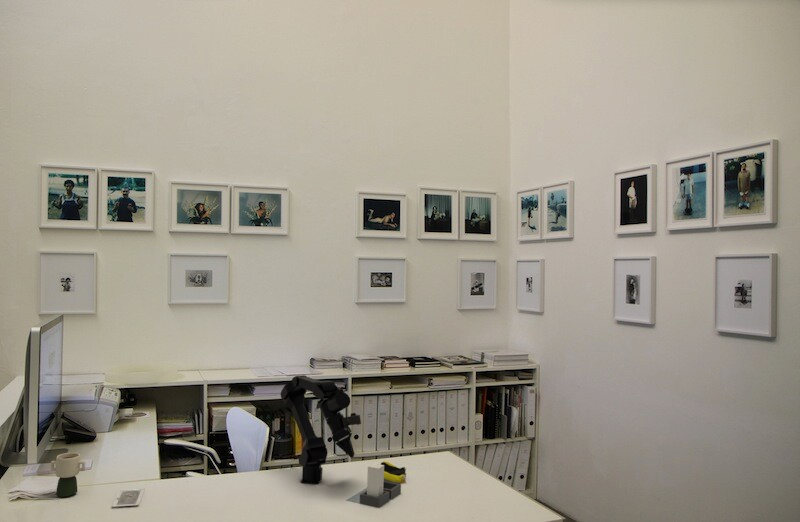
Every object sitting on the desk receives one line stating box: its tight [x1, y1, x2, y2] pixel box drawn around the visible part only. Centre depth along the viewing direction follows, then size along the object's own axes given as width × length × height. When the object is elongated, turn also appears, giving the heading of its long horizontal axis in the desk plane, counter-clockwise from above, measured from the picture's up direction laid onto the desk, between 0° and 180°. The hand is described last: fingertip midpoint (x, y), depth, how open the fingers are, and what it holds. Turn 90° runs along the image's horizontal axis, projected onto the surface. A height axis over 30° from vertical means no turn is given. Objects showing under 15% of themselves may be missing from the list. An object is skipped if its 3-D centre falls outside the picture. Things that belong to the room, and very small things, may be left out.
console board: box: [345, 481, 402, 509], centre depth 213 cm, size 13×16×4 cm
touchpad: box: [111, 488, 145, 508], centre depth 205 cm, size 8×15×2 cm, turn 16°
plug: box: [366, 462, 384, 497], centre depth 207 cm, size 4×4×12 cm
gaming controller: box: [380, 460, 407, 485], centre depth 232 cm, size 15×6×10 cm
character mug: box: [50, 452, 86, 498], centre depth 207 cm, size 11×7×13 cm, turn 95°
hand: (353, 456), depth 218 cm, fingers open, 9 cm apart
